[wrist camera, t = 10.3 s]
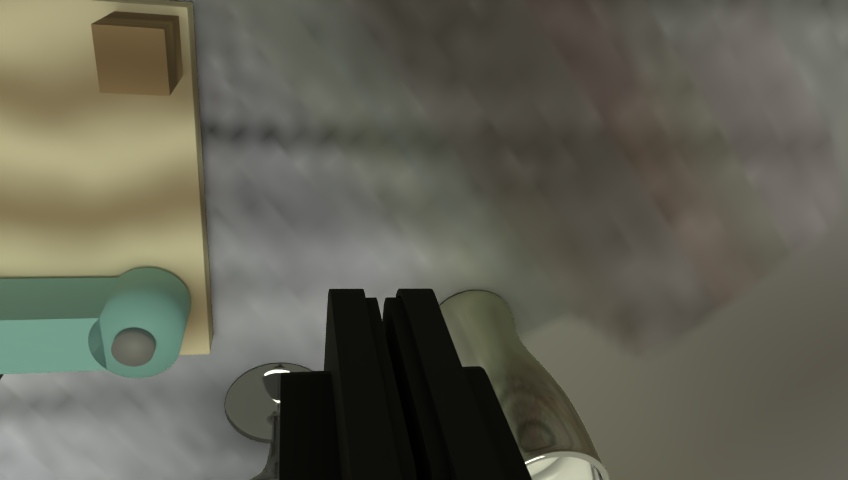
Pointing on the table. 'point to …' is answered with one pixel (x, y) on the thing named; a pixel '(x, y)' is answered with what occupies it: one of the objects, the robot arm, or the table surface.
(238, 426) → the silver goblet
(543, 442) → the beer glass
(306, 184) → the table surface
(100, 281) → the leg
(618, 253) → the table surface
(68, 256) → the seat
